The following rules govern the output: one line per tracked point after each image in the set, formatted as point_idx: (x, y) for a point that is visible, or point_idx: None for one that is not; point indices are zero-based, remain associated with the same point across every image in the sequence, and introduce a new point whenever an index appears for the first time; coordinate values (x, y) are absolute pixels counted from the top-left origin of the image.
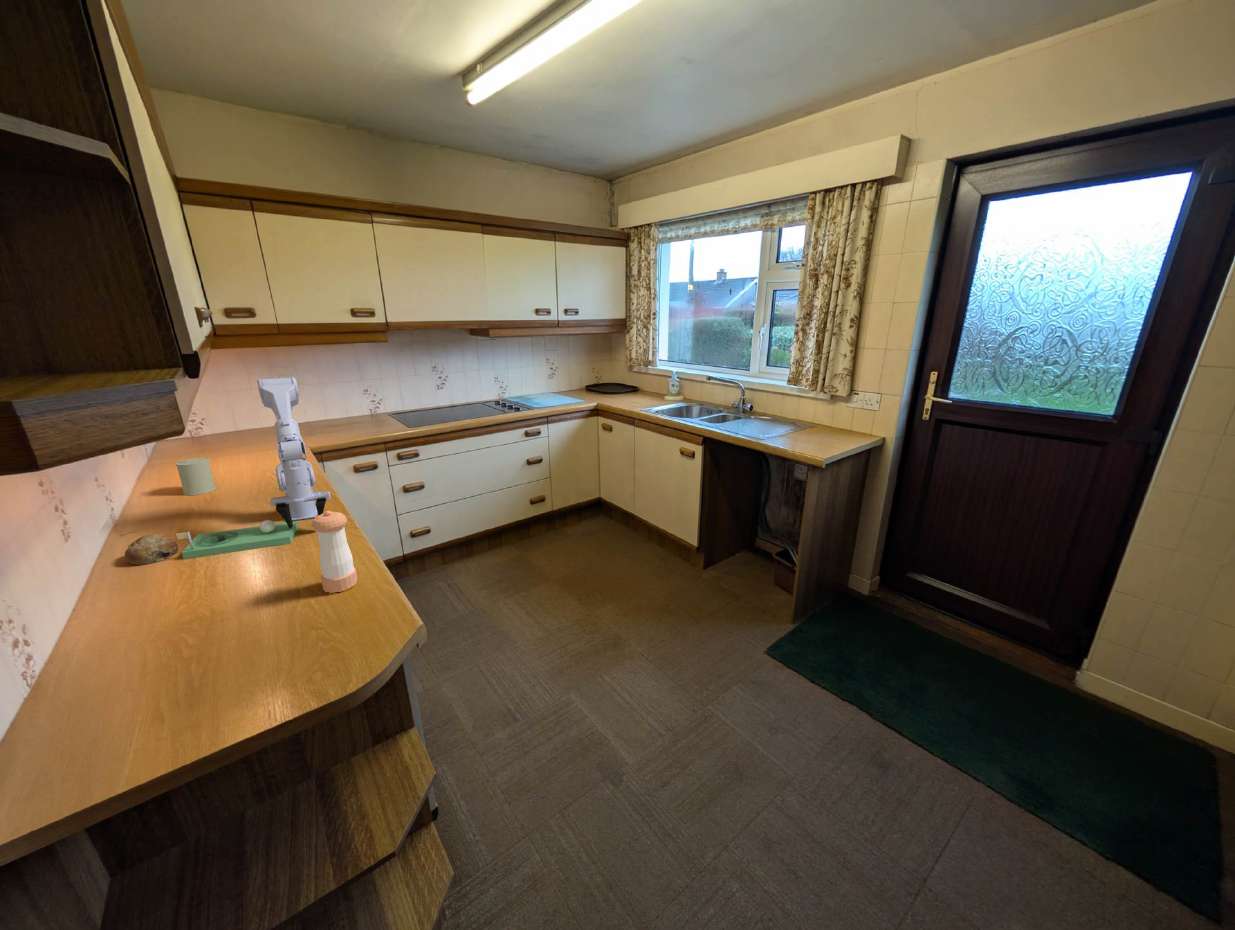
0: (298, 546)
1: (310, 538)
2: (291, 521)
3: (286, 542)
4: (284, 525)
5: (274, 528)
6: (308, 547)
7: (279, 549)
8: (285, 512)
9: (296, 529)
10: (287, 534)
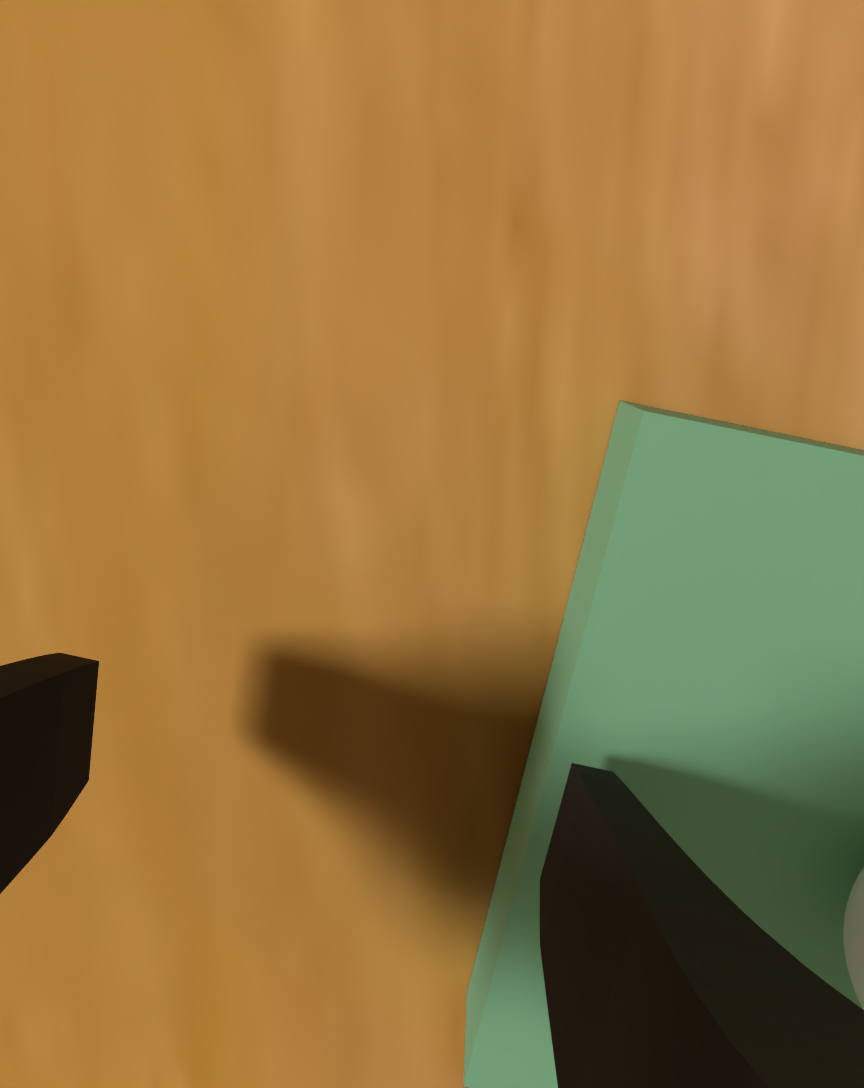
0: (523, 170)
1: (327, 437)
2: (558, 921)
3: (686, 415)
4: None
5: (857, 883)
6: (373, 3)
7: (815, 222)
8: (750, 1021)
9: (493, 901)
10: (662, 566)
